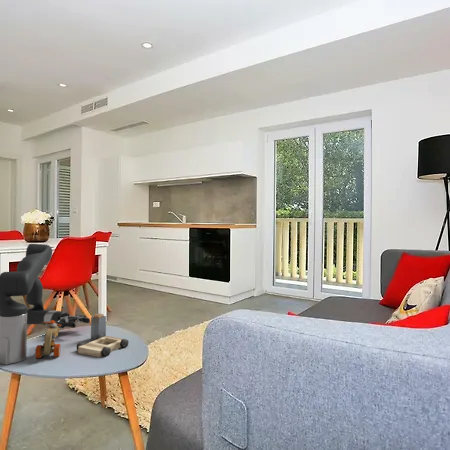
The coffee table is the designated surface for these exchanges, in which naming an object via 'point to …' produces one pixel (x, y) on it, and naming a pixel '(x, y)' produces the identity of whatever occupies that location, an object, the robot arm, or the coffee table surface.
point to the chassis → (101, 346)
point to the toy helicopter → (49, 341)
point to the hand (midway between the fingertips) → (82, 322)
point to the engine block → (98, 326)
